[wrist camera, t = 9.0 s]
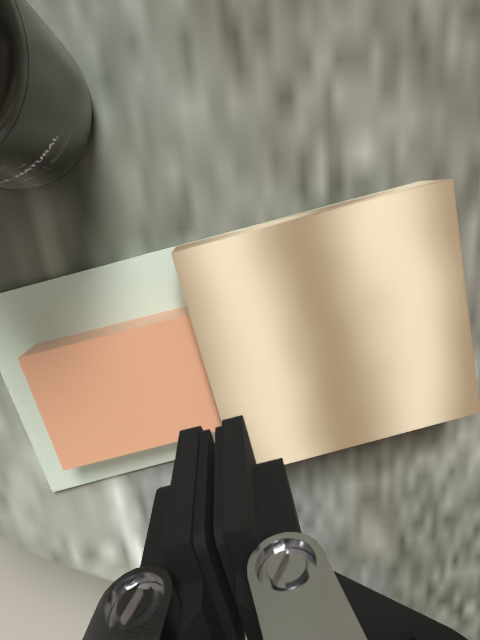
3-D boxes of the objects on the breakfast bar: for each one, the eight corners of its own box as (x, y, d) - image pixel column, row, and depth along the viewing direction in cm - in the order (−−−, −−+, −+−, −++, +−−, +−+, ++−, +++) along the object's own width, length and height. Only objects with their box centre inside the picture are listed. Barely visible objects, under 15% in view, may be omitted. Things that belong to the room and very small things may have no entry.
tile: (191, 304, 22) (189, 314, 20) (221, 411, 23) (222, 430, 21) (34, 344, 22) (17, 358, 20) (75, 448, 23) (63, 470, 21)
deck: (419, 181, 21) (452, 178, 18) (447, 387, 24) (480, 412, 21) (176, 246, 21) (171, 253, 18) (234, 444, 24) (237, 477, 21)
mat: (420, 181, 21) (423, 180, 21) (447, 383, 24) (450, 386, 24) (-28, 300, 21) (-31, 301, 21) (54, 488, 24) (52, 492, 24)
